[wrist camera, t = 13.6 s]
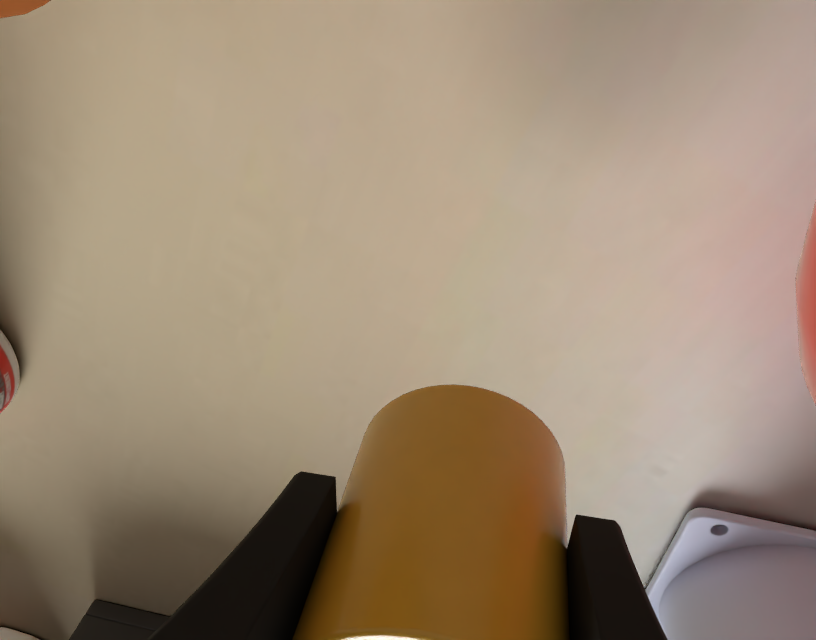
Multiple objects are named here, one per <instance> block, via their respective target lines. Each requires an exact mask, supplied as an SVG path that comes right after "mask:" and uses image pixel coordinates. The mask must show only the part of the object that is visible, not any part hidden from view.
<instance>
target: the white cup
mask: <svg viewBox="0 0 816 640" xmlns="http://www.w3.org/2000/svg"><path fill="white" fill-rule="evenodd" d="M0 640H39V639H37V638H36V637H34V636H31V635H28V634H25V633H22V632H19V631H16V630H12V629H9V628H5V627H0Z"/></svg>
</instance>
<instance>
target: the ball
mask: <svg viewBox="0 0 816 640" xmlns="http://www.w3.org/2000/svg"><path fill="white" fill-rule="evenodd" d="M796 302H797V322H798V342H799V357H800V363H801V368H802V372H803V375H804V378H805V382H806V385H807V387H808V389H809V392H810V394H811V396H812V399H813V401H814V403H815V406H816V200H815V204H814V208H813V211H812V215H811V219H810V223H809V226H808V230H807V234H806V238H805V241H804V245H803V249H802V252H801V256H800V260H799V264H798V268H797V274H796Z"/></svg>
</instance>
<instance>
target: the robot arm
mask: <svg viewBox="0 0 816 640" xmlns="http://www.w3.org/2000/svg"><path fill="white" fill-rule="evenodd" d="M336 513H337V504H336V477H333V476H326V475H320V474H314V473H307V472H299V473H298V474H296V475H295V476H294V477H293V478H292V480H291V481H290V482H289V484H288V485H287V486H286V488H285V489H284V490H283V491H282V493H281V494H280V495H279V497H278V498H277V499H276V500H275V502H274V503H273V504H272V505H271V507H270V508H269V509H268V510H267V512H266V513H265V514H264V515H263V517H262V518H261V519H260V520H259V521H258V523H257V524H256V525H255V526H254V527H253V528H252V530H251V531H250V532H249V533H248V534H247V536H246V537H245V538H244V539H243V540H242V541H241V542H240V543H239V545H238V546H237V547H236V548H235V549H234V550H233V551H232V552H231V554H230V555H229V556H228V557H227V558H226V559H225V560H224V561H223V562H222V564H221V565H220V566H219V567H218V568H217V569H216V570H215V571H214V572H213V574H212V575H211V576H210V577H209V578H208V579H207V580H206V581H205V582H204V583H203V584H202V585H201V586H200V587H199V588H198V589H197V590H196V591H195V592H194V593H193V594H192V595H191V596H190V597H189V598H188V599H187V600H186V601H185V602H184V603H183V604H182V605H181V606H180V607H179V608H178V609H177V610H176V611H175V613H174V614H173V615H172V616H171V617H170V618H169V619H168V620H167V621H166V622H164V623H163V624H162V625H161V626H160V627H159V628H158V629H157V630H156V631H155V632H154V633H153V634H152V635H151V636H150V637H149V638H148V639H147V640H292V637H293V634H294V632H295V629H296V626H297V623H298V620H299V617H300V615H301V612H302V609H303V606H304V603H305V601H306V598H307V595H308V592H309V589H310V587H311V584H312V581H313V578H314V575H315V572H316V570H317V567H318V564H319V562H320V559H321V556H322V553H323V550H324V547H325V545H326V542H327V539H328V536H329V533H330V530H331V528H332V525H333V522H334V519H335V516H336ZM718 524H719V526H715V525H718ZM567 564H568V597H569V623H570V640H816V531H814V530H809V529H805V528H800V527H795V526H790V525H785V524H781V523H776V522H771V521H766V520H762V519H757V518H752V517H747V516H743V515H738V514H733V513H728V512H724V511H719V510H714V509H709V508H701V507H700V508H695V509H693V510H691V511H689V512H688V513H687V514H686V516H685V518H684V520H683V522H682V523H681V525H680V527H679V529H678V531H677V533H676V535H675V536H674V538H673V540H672V542H671V544H670V546H669V547H668V549H667V551H666V553H665V555H664V557H663V559H662V560H661V562H660V564H659V566H658V568H657V570H656V572H655V573H654V575H653V577H652V579H651V581H650V583H649V585H648V586H647V588H646V590H645V589H644V587H643V584H642V582H641V580H640V577H639V575H638V573H637V570H636V568H635V565H634V563H633V560H632V558H631V555H630V553H629V550H628V547H627V544H626V542H625V539H624V536H623V533H622V530H621V528H620V526H619V525H618V524H617V523H616V521H614V520H607V519H601V518H595V517H588V516H582V515H576V516H575V520H574V524H573V528H572V532H571V536H570V540H569V543H568V547H567Z"/></svg>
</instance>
